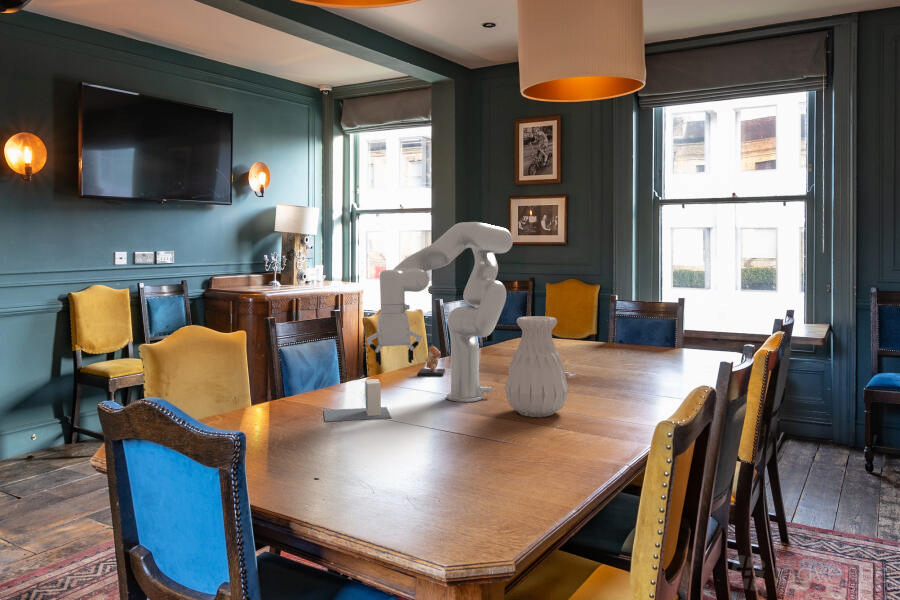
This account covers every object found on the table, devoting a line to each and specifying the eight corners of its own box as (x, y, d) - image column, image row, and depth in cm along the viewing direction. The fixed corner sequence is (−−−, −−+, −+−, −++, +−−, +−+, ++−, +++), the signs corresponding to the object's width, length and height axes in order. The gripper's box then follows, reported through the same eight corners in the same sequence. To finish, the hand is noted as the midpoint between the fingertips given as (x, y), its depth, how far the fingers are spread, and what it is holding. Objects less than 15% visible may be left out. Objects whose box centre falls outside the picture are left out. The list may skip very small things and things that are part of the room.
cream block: (378, 409, 221) (378, 379, 220) (380, 415, 214) (380, 383, 214) (365, 410, 220) (365, 379, 220) (367, 415, 213) (366, 383, 213)
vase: (527, 424, 204) (528, 323, 202) (492, 409, 222) (492, 316, 219) (581, 416, 213) (583, 319, 211) (544, 403, 231) (544, 313, 229)
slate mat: (386, 407, 225) (386, 406, 225) (391, 418, 212) (391, 417, 211) (323, 411, 221) (323, 410, 221) (325, 422, 208) (325, 421, 207)
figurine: (442, 377, 278) (442, 347, 277) (417, 376, 279) (417, 347, 278) (445, 372, 288) (445, 343, 287) (421, 372, 289) (420, 343, 288)
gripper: (418, 306, 221) (420, 359, 223) (364, 309, 218) (366, 362, 220) (422, 309, 214) (423, 364, 216) (365, 312, 211) (368, 367, 213)
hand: (394, 363), depth 218 cm, fingers open, 9 cm apart
